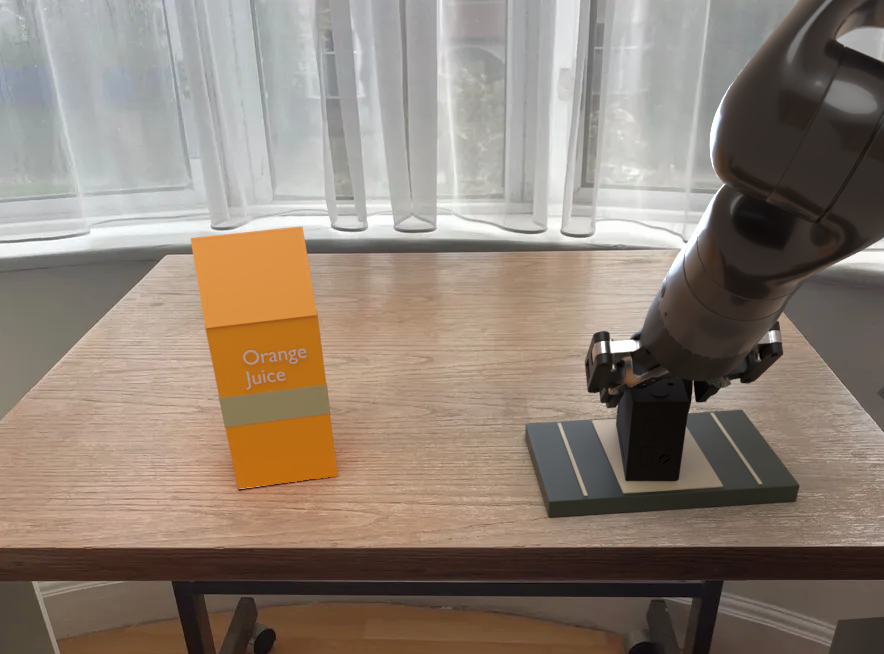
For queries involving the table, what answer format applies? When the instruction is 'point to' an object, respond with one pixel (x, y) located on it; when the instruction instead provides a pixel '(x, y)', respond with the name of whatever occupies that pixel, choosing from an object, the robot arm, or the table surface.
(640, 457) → the digital camera
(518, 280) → the table surface
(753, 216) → the robot arm
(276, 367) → the orange juice
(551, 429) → the board
